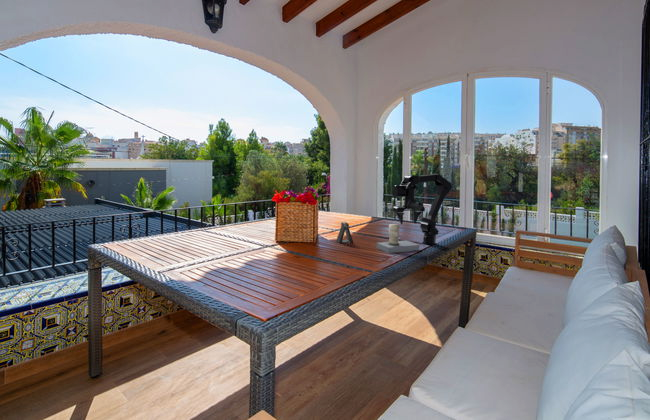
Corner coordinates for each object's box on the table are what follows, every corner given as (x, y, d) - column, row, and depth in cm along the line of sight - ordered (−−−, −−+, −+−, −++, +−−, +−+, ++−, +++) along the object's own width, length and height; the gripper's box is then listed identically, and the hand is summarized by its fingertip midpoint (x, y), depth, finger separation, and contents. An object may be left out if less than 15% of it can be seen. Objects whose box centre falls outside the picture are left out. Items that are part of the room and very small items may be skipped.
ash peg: (391, 247, 200) (392, 223, 198) (400, 249, 196) (402, 224, 194) (385, 249, 196) (386, 224, 194) (395, 251, 192) (396, 226, 190)
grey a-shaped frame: (350, 240, 218) (350, 221, 217) (353, 242, 212) (353, 222, 211) (336, 241, 216) (336, 221, 214) (338, 243, 210) (339, 223, 209)
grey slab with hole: (406, 245, 206) (406, 240, 206) (419, 250, 195) (419, 244, 195) (376, 248, 199) (376, 242, 198) (388, 253, 188) (388, 247, 187)
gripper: (404, 198, 191) (402, 226, 193) (431, 197, 198) (430, 225, 200) (392, 196, 201) (391, 223, 203) (419, 196, 208) (418, 222, 210)
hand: (408, 223), depth 204 cm, fingers open, 9 cm apart
